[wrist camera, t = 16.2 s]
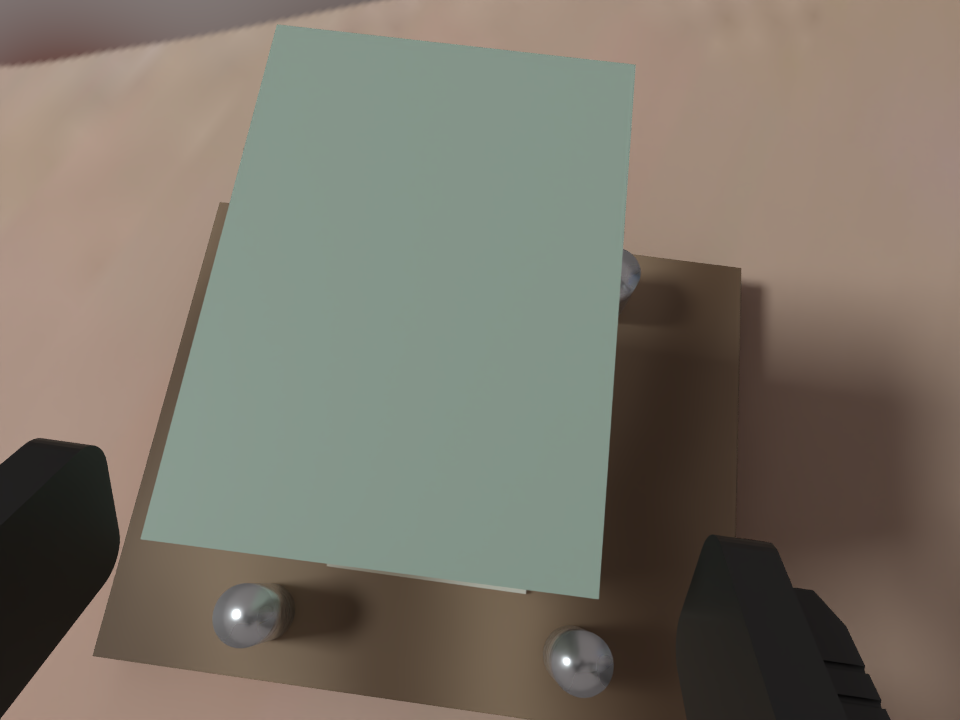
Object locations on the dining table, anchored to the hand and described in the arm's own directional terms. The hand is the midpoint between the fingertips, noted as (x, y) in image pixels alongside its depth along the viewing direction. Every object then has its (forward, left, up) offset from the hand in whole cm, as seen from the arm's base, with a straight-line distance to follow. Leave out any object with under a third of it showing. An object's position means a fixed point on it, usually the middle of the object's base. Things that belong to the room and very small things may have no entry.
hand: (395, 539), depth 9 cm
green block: (+2, -3, -9) cm, 10 cm away
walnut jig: (+2, -3, -11) cm, 11 cm away
